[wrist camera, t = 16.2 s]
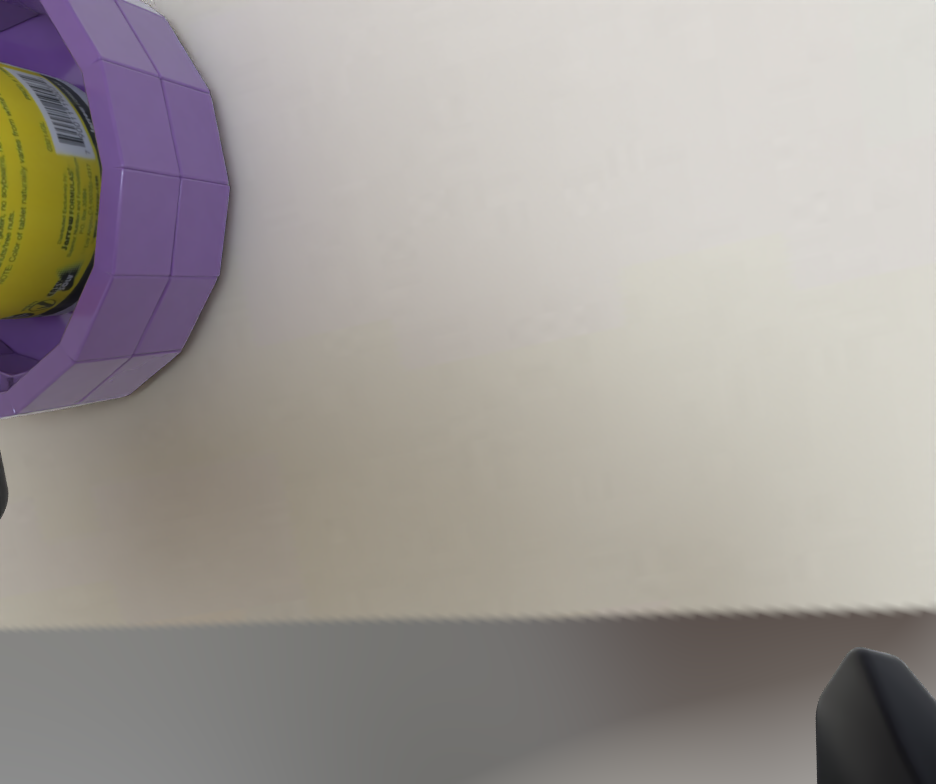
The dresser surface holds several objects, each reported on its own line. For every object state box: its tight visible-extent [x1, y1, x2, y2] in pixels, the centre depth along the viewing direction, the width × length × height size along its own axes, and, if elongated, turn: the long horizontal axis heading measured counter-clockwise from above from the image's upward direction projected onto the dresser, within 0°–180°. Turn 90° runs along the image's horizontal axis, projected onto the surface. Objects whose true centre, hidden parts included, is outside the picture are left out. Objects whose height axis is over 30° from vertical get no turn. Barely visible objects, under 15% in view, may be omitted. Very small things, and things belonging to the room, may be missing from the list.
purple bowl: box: [0, 0, 230, 420], centre depth 21 cm, size 11×11×4 cm
